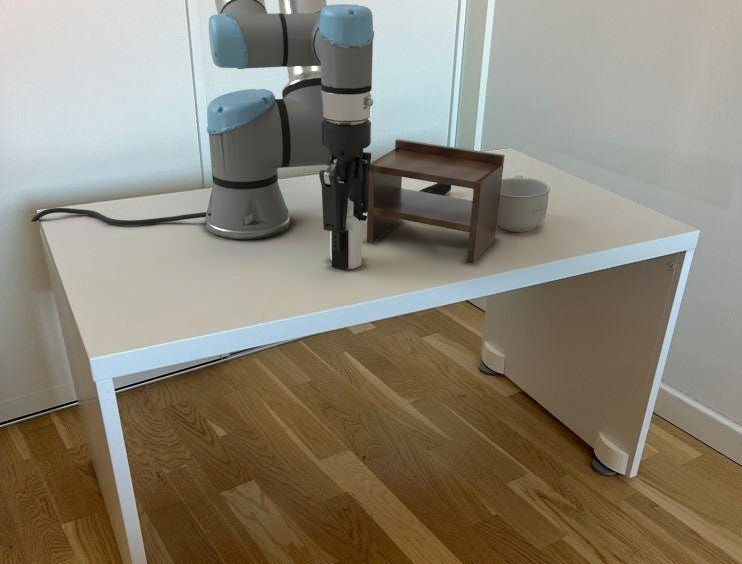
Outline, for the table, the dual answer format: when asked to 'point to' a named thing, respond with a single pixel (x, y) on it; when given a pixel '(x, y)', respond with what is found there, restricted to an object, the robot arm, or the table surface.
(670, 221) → the table surface
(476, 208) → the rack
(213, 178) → the robot arm
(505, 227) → the teacup
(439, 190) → the electric trimmer
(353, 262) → the eye dropper bottle
